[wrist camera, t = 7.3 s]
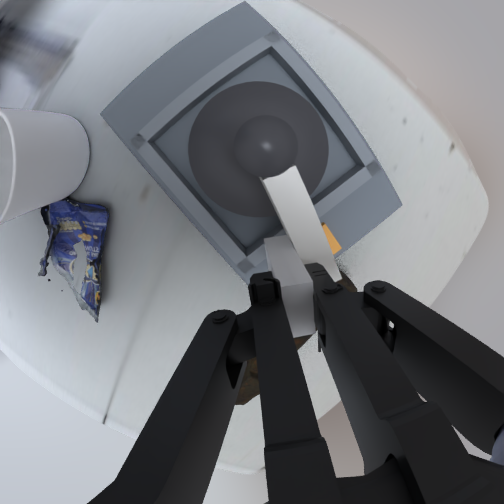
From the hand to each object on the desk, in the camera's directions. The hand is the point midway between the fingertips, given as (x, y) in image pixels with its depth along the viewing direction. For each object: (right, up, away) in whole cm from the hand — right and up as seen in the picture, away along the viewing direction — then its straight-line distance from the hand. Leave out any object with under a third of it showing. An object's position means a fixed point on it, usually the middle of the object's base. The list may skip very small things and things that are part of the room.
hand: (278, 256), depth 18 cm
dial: (0, +6, +2) cm, 7 cm away
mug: (-22, +10, +3) cm, 25 cm away
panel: (-1, +9, +4) cm, 10 cm away
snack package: (-19, +1, +7) cm, 20 cm away
